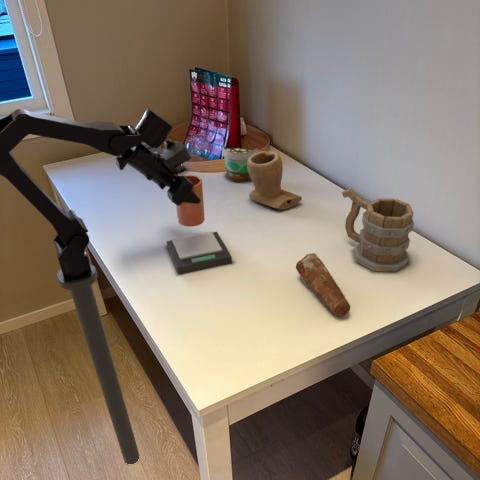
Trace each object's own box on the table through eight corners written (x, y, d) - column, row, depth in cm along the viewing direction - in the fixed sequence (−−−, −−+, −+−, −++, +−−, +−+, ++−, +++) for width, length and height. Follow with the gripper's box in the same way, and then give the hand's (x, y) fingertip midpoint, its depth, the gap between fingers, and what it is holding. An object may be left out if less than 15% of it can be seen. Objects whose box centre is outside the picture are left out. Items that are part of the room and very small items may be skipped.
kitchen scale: (178, 274, 120) (177, 265, 118) (167, 247, 130) (165, 239, 128) (231, 263, 123) (231, 254, 122) (217, 237, 133) (216, 229, 131)
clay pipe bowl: (239, 201, 148) (238, 153, 138) (265, 188, 154) (266, 142, 145) (276, 218, 140) (278, 168, 130) (302, 204, 146) (306, 155, 136)
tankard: (416, 258, 123) (429, 204, 113) (385, 278, 117) (397, 223, 107) (353, 228, 135) (361, 177, 125) (323, 245, 129) (328, 193, 119)
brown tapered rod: (317, 269, 120) (319, 250, 117) (353, 316, 107) (357, 296, 103) (293, 274, 119) (295, 255, 115) (327, 322, 105) (330, 302, 102)
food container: (217, 181, 159) (216, 151, 153) (223, 173, 164) (222, 144, 157) (254, 185, 156) (253, 155, 150) (259, 177, 161) (259, 147, 154)
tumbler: (176, 226, 126) (172, 187, 119) (179, 213, 132) (175, 175, 124) (203, 226, 126) (200, 187, 119) (205, 213, 131) (202, 175, 124)
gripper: (181, 148, 106) (228, 185, 117) (154, 122, 119) (199, 157, 129) (151, 189, 109) (200, 221, 119) (128, 159, 121) (174, 191, 132)
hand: (194, 196), depth 125 cm, fingers closed on tumbler, 7 cm apart
